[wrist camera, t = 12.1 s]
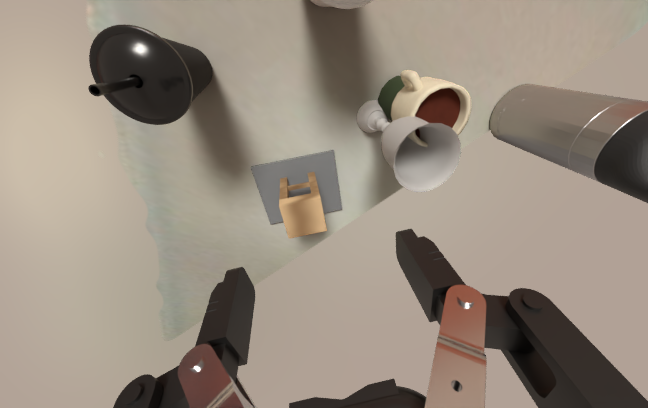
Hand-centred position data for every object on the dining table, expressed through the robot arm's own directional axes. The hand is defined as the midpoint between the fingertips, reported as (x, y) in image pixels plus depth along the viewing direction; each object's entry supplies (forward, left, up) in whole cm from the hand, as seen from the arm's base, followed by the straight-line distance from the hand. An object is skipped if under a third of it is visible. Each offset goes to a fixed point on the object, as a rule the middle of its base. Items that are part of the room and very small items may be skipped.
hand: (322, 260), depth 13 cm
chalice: (-12, +2, -30) cm, 32 cm away
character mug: (-16, 0, -30) cm, 34 cm away
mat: (+2, +12, -30) cm, 32 cm away
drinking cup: (+12, -9, -30) cm, 34 cm away
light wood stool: (+2, +12, -29) cm, 32 cm away
